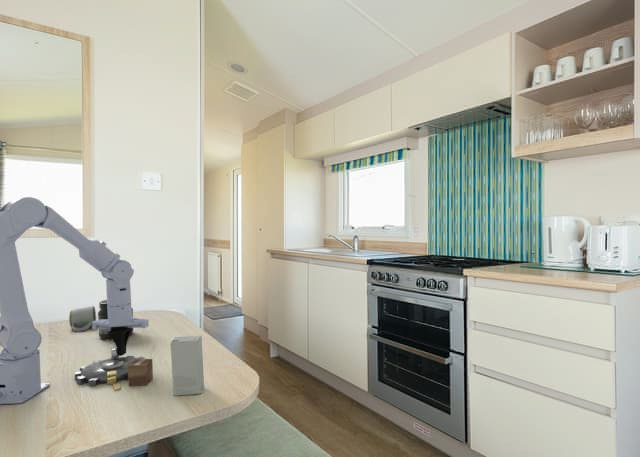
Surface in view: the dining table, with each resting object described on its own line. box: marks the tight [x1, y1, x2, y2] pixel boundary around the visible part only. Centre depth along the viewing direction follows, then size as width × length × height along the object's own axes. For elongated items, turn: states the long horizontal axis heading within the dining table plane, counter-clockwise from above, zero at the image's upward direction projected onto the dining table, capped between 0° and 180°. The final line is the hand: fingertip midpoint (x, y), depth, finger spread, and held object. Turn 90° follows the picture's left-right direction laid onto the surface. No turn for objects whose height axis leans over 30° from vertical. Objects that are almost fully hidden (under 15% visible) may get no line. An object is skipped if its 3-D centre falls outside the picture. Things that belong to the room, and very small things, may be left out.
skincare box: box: [170, 335, 205, 397], centre depth 88 cm, size 6×4×12 cm
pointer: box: [112, 382, 121, 392], centre depth 91 cm, size 4×1×1 cm, turn 32°
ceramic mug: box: [68, 305, 97, 333], centre depth 143 cm, size 10×8×7 cm
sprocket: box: [74, 347, 146, 387], centre depth 100 cm, size 16×16×4 cm
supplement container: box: [97, 299, 135, 341], centre depth 133 cm, size 10×10×12 cm
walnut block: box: [128, 358, 154, 387], centre depth 93 cm, size 4×4×5 cm
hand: (122, 354), depth 105 cm, fingers closed
